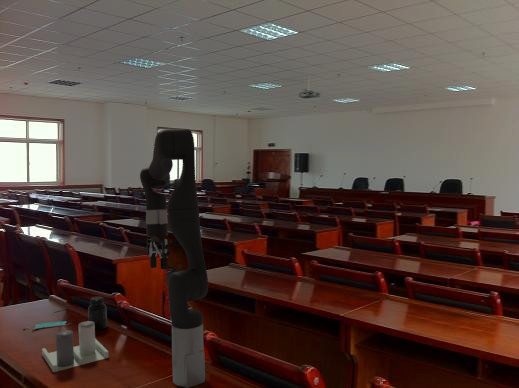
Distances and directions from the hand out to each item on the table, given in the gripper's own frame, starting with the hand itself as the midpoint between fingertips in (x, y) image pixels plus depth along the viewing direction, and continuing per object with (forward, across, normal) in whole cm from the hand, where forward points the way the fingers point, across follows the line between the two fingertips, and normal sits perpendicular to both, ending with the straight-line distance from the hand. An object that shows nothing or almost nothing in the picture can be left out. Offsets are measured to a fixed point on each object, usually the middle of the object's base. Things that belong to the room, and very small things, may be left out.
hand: (158, 268), depth 161 cm
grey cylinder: (+27, -5, -31) cm, 41 cm away
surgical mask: (+23, -47, -25) cm, 58 cm away
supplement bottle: (+24, -33, -12) cm, 42 cm away
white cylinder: (+26, -9, -23) cm, 36 cm away
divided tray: (+28, -9, -27) cm, 39 cm away
